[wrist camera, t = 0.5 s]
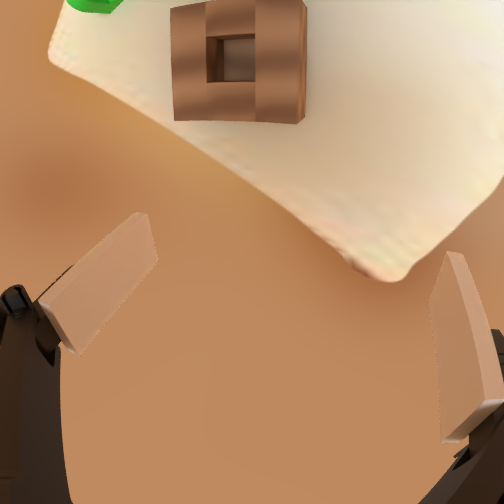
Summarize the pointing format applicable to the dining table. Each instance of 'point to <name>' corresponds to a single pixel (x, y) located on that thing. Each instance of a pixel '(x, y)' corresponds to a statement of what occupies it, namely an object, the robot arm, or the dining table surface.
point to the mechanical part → (95, 5)
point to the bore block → (239, 60)
